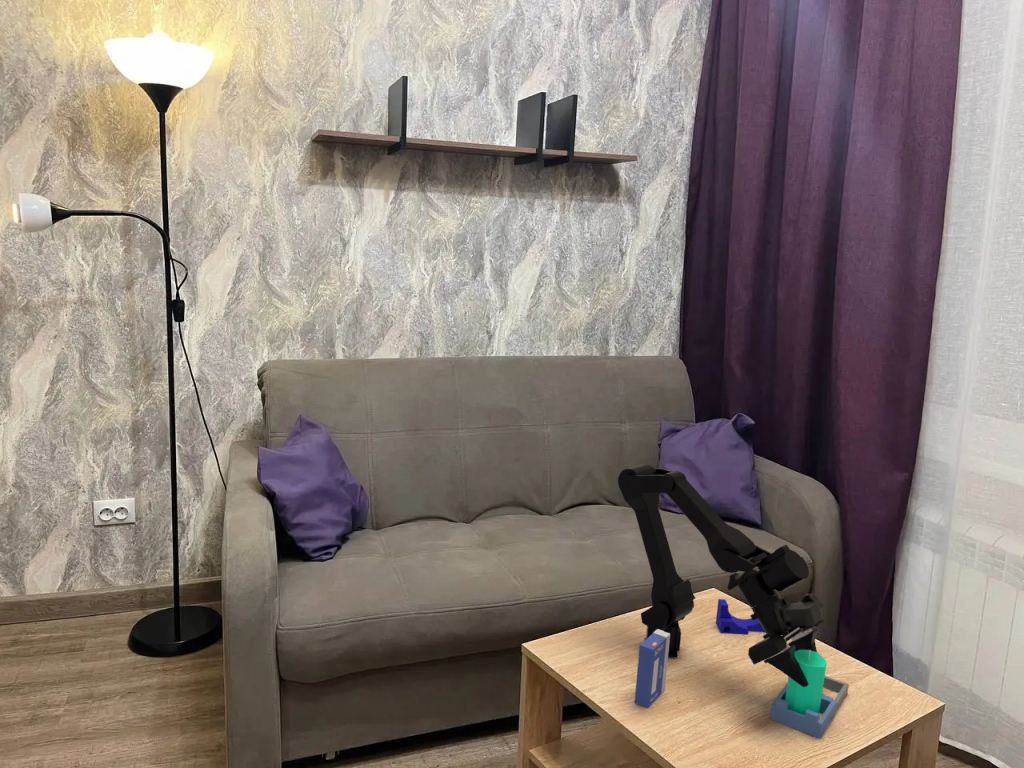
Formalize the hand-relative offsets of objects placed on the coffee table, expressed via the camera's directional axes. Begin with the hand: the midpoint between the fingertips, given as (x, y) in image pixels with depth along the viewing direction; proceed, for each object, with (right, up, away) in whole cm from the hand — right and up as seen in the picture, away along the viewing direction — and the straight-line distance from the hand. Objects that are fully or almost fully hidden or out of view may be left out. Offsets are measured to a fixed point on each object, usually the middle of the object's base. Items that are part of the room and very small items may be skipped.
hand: (813, 680), depth 146 cm
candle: (-1, -6, +2) cm, 7 cm away
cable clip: (-3, -2, +34) cm, 34 cm away
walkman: (-28, -5, +6) cm, 29 cm away
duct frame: (+1, -7, +6) cm, 9 cm away
